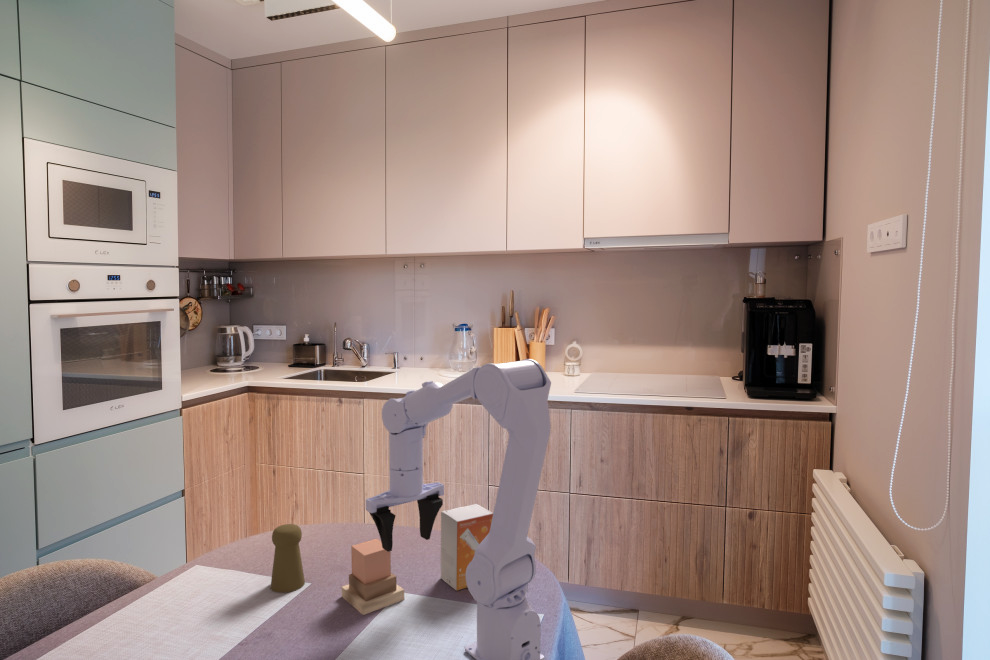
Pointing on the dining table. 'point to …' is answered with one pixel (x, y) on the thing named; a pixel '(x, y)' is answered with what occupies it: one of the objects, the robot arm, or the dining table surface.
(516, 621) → the robot arm
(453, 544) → the small box
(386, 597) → the birch base slab
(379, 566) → the terracotta cube
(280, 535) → the olive game pawn
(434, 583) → the dining table surface
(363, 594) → the walnut top slab
